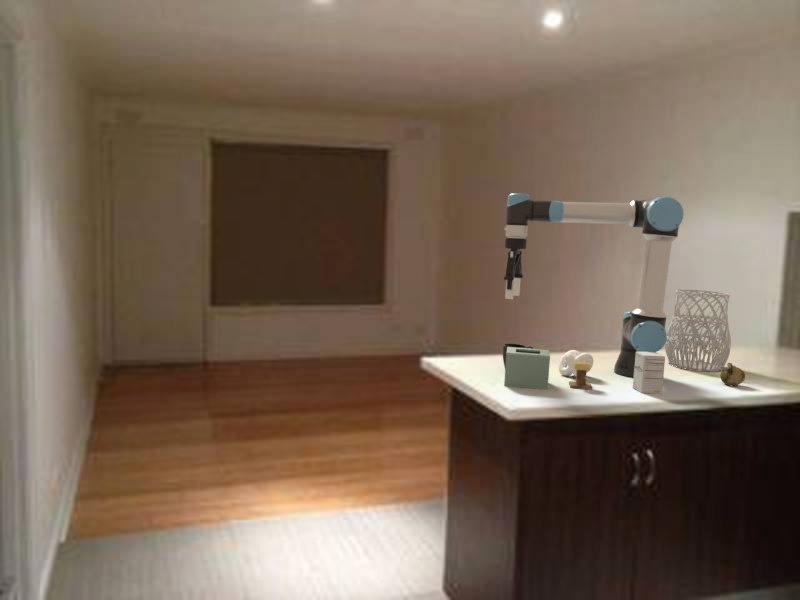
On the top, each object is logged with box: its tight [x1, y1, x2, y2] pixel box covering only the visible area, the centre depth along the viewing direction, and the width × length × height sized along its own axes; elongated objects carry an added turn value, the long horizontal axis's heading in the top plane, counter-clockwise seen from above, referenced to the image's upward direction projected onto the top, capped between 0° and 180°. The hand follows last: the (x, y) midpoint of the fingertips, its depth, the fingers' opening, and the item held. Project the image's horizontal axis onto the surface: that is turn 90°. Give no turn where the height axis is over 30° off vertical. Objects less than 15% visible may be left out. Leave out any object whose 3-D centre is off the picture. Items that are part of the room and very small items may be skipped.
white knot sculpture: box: [558, 349, 594, 377], centre depth 266 cm, size 11×12×9 cm
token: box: [574, 361, 591, 372], centre depth 250 cm, size 5×5×2 cm
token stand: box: [568, 370, 593, 390], centre depth 250 cm, size 7×7×6 cm
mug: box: [502, 343, 534, 368], centre depth 271 cm, size 8×12×10 cm
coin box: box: [503, 347, 551, 390], centre depth 250 cm, size 14×12×11 cm
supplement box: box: [632, 352, 666, 395], centre depth 248 cm, size 7×7×13 cm
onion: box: [719, 362, 746, 386], centre depth 265 cm, size 8×8×8 cm
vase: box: [664, 289, 732, 372], centre depth 298 cm, size 24×24×30 cm
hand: (512, 297), depth 268 cm, fingers open, 13 cm apart
